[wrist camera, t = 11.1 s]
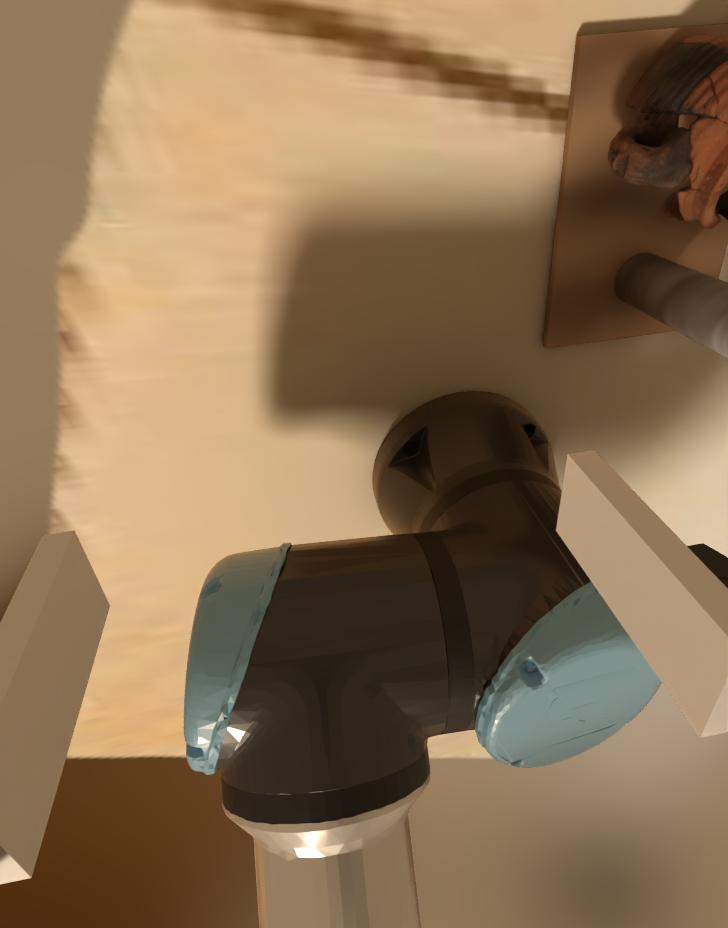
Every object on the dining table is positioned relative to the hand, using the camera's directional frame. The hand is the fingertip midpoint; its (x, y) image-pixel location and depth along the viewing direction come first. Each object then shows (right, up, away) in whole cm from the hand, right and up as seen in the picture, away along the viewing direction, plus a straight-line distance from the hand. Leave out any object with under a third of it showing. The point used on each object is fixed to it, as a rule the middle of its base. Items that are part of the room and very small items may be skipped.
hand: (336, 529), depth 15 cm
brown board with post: (+20, +20, +23) cm, 37 cm away
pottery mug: (+20, +23, +21) cm, 37 cm away
